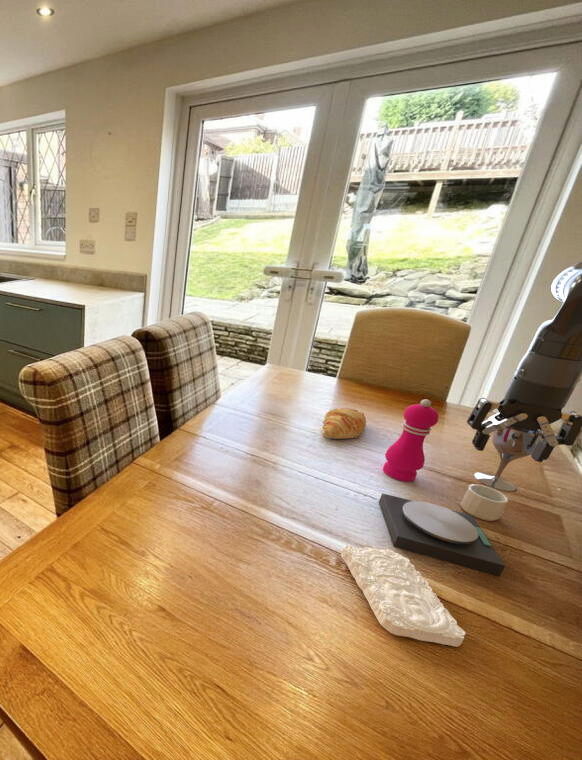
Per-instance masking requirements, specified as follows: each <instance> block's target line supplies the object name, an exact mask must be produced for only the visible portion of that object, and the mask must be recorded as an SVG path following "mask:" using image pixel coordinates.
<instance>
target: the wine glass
mask: <svg viewBox="0 0 582 760" xmlns="http://www.w3.org/2000/svg"><path fill="white" fill-rule="evenodd" d="M502 420H503V419H502ZM502 420H500V421H502ZM539 440H543V439H542V438H541V436H540V434H539V432H538V431H537V430H534V431H530V430H527V429H524V428H513V427H511V426H508V427H506V428H504V429H498V430H496V431H494V432H492V433H491V443H492V445H493V447H494V449H495V450H496V452H497V454H498V456H499V459H500V461H499V465H498V469H497V471H496V472H495V474H492V473H488V472H482V471H478V472H475V473H474V474H473V477H474V478H475V479H476V480H477V481H479V482H480V483H482V484H483V485H484V486H487V487H490V488H493V489H495V490H498V491H505V492H515V491H516V490H517V487H516V485H515V484H514V483H513V482H511V481H510V480H507V479H506V478H504V477H502V476H501V475H502V473H503V472H504V470H505V469H506V467H507V466H508V465H509V464H510V463H512V462H513V461H516V460H519V459H523V458H526V457H527V458H528V457H529V456H531V455H532V453H533V451H534V449H535V447H536V445H537V444H538V442H539Z"/></svg>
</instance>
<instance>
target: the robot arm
mask: <svg viewBox="0 0 582 760" xmlns="http://www.w3.org/2000/svg"><path fill="white" fill-rule="evenodd" d="M550 289H551V293H552V295H553V297H554V298H556V299H557V300H558V301H560V302H561V303H562V304H561V307H559V310H558V311H557V313H556V314H555V316H554V317H553V319H549V320H545V321H544V322H543V323H542V324H540V326H539V327H538V329H537V330H536V333H535V335H534V337H533V340H532V341H531V343H530V345H529V347H528V349H527V351H526V353H525V354H524V355H523V357H522V358H521V360H520V362H519V363H518V365H517V367H516V371H515V372H514V374H513V376H512V378H511V380H510V383H509V384H508V387H507V389H506V391H505V393H504V397H503V399H501V400H500V401H493V400H488V399H487V398H485V397H480V398H479V399H477V402H476V404H475V405H474V407H473V409H472V411H471V413H470V415H469V417H468V418H467V420H466V423H467V424H468V425H469V426H470V427H471V429H472V430H474V431H475V430H476V431H475V434H474V437H473V438H472V441H471V443H472V445H473V447H474V448H475V449H476V450H477V451H480V452H483V451H484V450H485V448H486V445H487V443H488V442H489V439H490V437H491V435H490V434H493V432H494V431H496V430H498V429H504V428H506V427H508V426H511V427H513V428H524V429H527V430H530V431H534V430H537V431H538V432H539V434H540V436H541V438H542V439H543V440H539V442H538V444H537V445H536V447H535V449H534V451H533V453H532V455H530V457H531V459H533V461H534V462H538V463H543V461H546V460H548V459H549V458H550V456H551V454H552V452H553V451H554V449H555V447H557V446H567V447H570V446H574V445H575V442H576V440H577V437H578V436H579V433H580V431H581V429H582V415H580V414H579V413H578V412H576V411H574V410H571V411H568V412H564V411H563V409H564V408H565V407H566V406H567V403H568V402H569V400H570V398H571V396H572V395H573V393H574V391H575V389H576V388H577V385H578V384H579V382H580V381H581V378H582V261H579V262H576V263H575V264H573V265H572V266H570V267H567V268H566V269H565V270H563V271H562V272H560V273H559V274H558V275H557V276H556V277H555V278H554V280H553V281H552V284H551V286H550ZM496 409H497V411H498V412H497V413H495V414H493V415H491V416H489V417H488V419H486V418H487V415H488V414H489V413H492V412H494V410H496ZM485 419H486V420H485ZM502 419H503V420H502ZM500 420H502V421H500ZM559 420H560V422H561V423H562V424H561V426H560V428H559V430H558V431H557V432H558V433H557V434H555V432H554V431H553V428H552V427H551V425H552V424H553V423H555V422H557V421H559Z"/></svg>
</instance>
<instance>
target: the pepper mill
mask: <svg viewBox="0 0 582 760" xmlns="http://www.w3.org/2000/svg"><path fill="white" fill-rule="evenodd" d="M431 405H432V401H431V400H430V399H422V400H421V401H420V403H416V404H411V405H409V406H407V407H406V408H405V410H404V412H403V418H404V421H403V422H402V425H401V428H402V433H401V434H400V436H399V438H398V439H397V440H395V441H394V442H393V443H392V444H391V445H390V446H389V447H388V448H387V450H386V452H385V454H384V457H385V460H386V461H385V462H384V464H383V467H382V471H383V472H384V474H386V475H387V476H389V477H391V478H392V479H394V480H398V481H401V482H408V483H411V482H413V481H415V480H416V478H417V475H418V472H417V471H420V470H422V468H423V467H424V466H425V460H426V459H425V457H426V456H425V453H424V441H425V439H426V436H429V435H430V434H431V431H432V428H431V427H434V426H436V425H437V424H438V422H439V418H440V416H439V413H438V411H437V410H436V409H435V408H433V407H432V406H431Z"/></svg>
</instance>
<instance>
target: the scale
mask: <svg viewBox="0 0 582 760" xmlns="http://www.w3.org/2000/svg"><path fill="white" fill-rule="evenodd" d="M411 501H413V500H412V499H407V498H403V497H399V496H395V495H390V494H387V493H381V495H380V497H379V500H378V504H379V508H380V510H381V513H382V517H383V518H384V522H385V526H386V528H387V532H388V534H389V537H390V540H391V543H392V546H393V547H395V548H398V549H402V550H405V551H409V552H412V553H414V554H415V553H416V554H419V555H423V556H427V557H429V558H434V559H437V560H440V561H443V562H448V563H450V564H453V565H458V566H461V567H464V568H467V569H472V570H475V571H479V572H482V573H486V574H489V575H492V576H496V577H500V576H501V574H502V573H503V571H504V569H505V568H506V565H505V563H504V562H503V560H502V558H501V557H500V555H499V553H498V552H497V551H496V549H495V547H494V546H493V545H492V543H491V541H490V540H489V538H488V537H487V535H486V534H485V532H484V530H483V529H482V528H481V526H480V525H479V523H478V522H477V520H476V517H474V516H473V515H470V514H468V513H465V512H461V511H457V510H452V509H450V510H451V511H453V512H455V513H457V514H458V515H460V516H462V517H463V518H465V519H466V520H467V521H469V522H470V523H471V524H472V525H473V526H474V527H475V528H476V530H477V532H478V538H477V540H476V541H475V542H473V543H470V544H457V543H452V542H448V541H444V540H441V539H438V538H436V537H433V536H431V535H429V534H427V533H425V532H423V531H422V530H420V529H418V528H417V527H415V526H414V525H413V524H411V523H410V522H409V521H408V520H407V519H406V518H405V516H404V515H403V512H402V508H403V506H404V504H406V503H407V502H411Z"/></svg>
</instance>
